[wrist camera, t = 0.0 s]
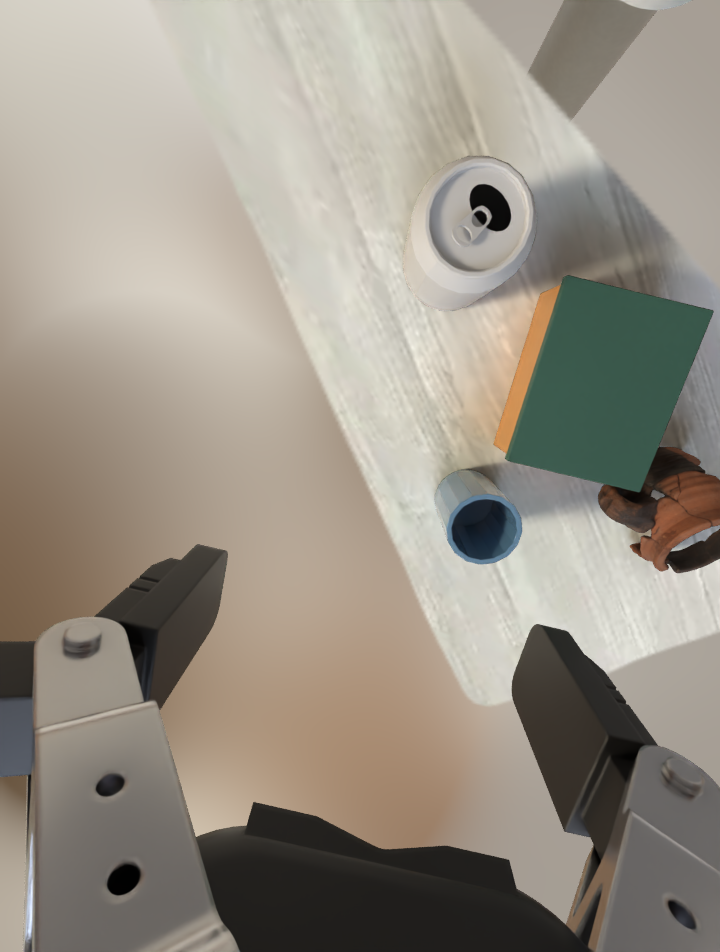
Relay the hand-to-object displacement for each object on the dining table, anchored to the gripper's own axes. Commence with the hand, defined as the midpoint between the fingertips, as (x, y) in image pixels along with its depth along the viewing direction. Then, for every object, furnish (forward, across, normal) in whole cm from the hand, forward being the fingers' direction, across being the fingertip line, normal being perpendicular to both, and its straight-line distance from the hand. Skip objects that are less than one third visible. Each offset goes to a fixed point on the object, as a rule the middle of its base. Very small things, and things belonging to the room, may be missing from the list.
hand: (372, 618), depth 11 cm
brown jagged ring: (+30, -25, 0) cm, 39 cm away
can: (+30, -2, -15) cm, 34 cm away
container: (+30, -15, -8) cm, 35 cm away
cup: (+30, -9, +4) cm, 32 cm away
